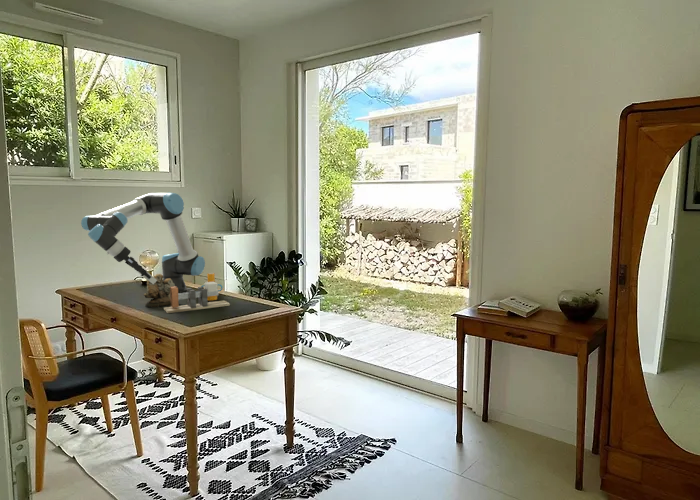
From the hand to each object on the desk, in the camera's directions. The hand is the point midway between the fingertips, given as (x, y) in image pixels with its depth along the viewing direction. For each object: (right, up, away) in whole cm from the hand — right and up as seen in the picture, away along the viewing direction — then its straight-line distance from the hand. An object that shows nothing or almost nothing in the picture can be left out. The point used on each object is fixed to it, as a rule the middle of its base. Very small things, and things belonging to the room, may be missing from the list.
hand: (152, 280), depth 240 cm
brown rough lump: (-3, -15, +20) cm, 25 cm away
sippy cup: (+20, -13, +32) cm, 40 cm away
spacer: (+25, -6, +16) cm, 30 cm away
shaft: (+18, -13, +12) cm, 25 cm away
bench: (+17, -15, +13) cm, 26 cm away
